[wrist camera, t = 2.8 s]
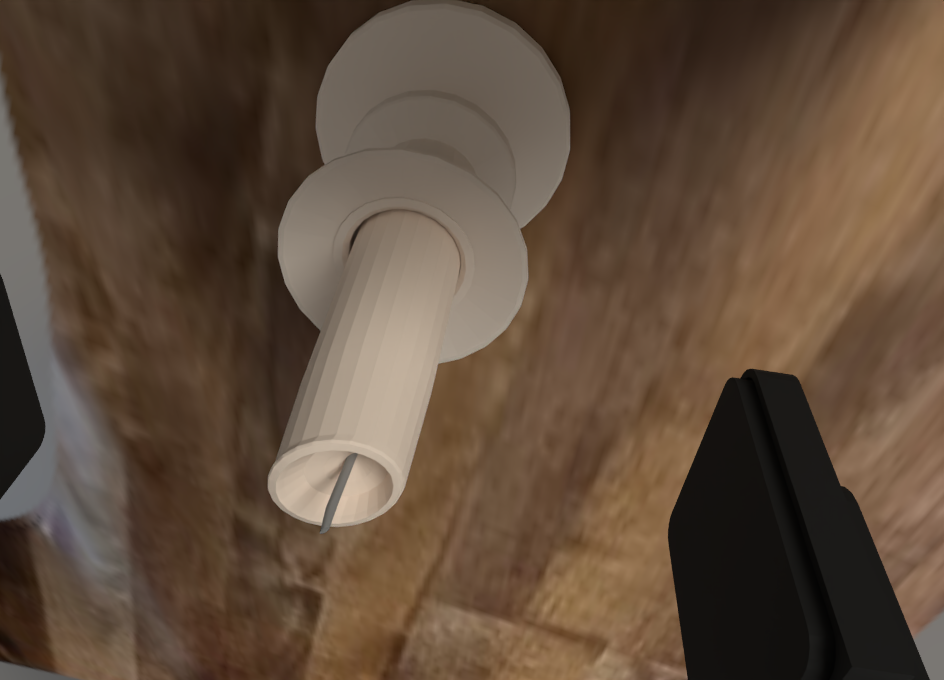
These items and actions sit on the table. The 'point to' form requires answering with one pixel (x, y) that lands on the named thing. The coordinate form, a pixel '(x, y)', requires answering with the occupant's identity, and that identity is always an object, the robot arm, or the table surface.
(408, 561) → the table surface
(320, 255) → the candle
